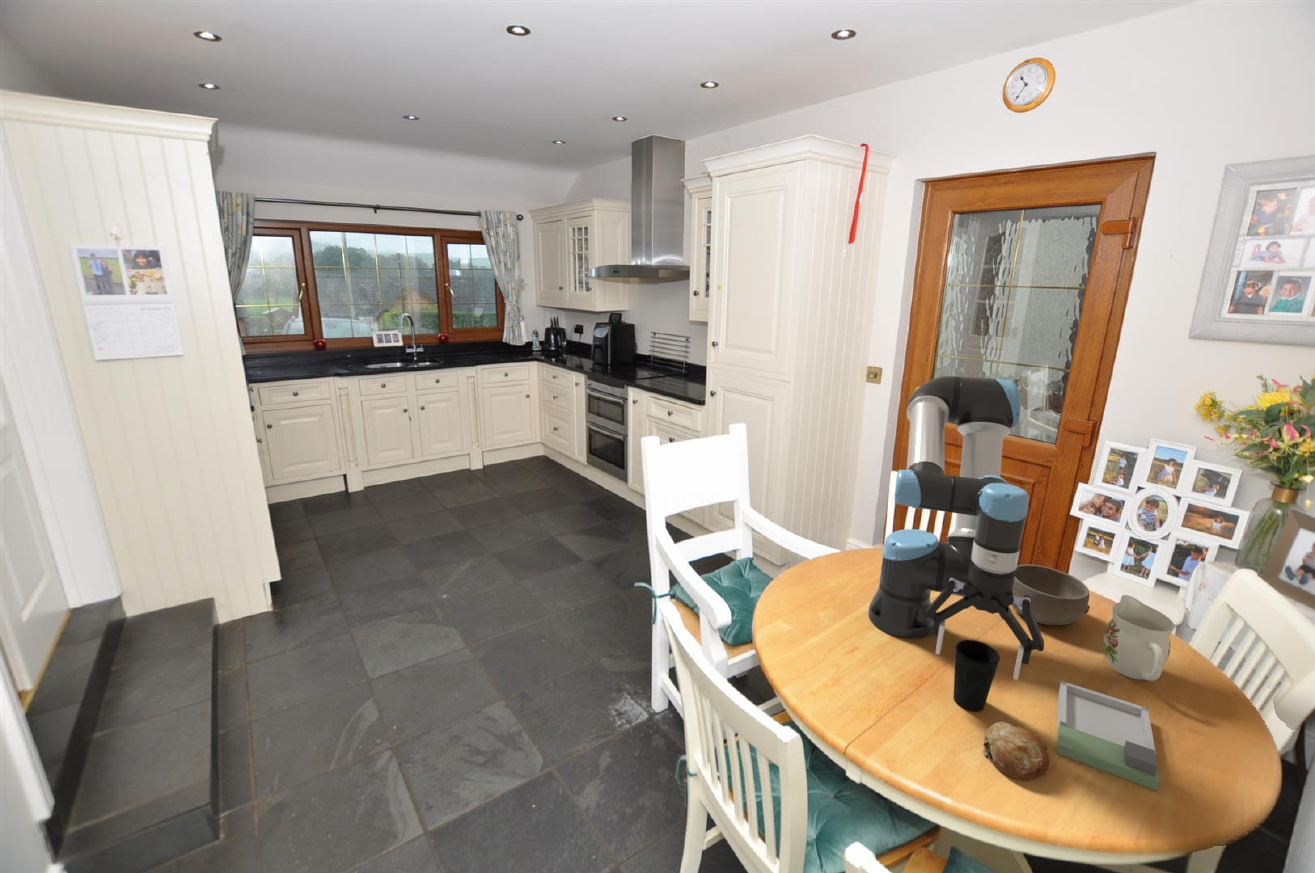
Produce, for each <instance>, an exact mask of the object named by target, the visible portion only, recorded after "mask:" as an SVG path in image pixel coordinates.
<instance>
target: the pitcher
mask: <svg viewBox="0 0 1315 873" xmlns="http://www.w3.org/2000/svg"><path fill="white" fill-rule="evenodd" d="M1175 628H1176V626H1175V623H1174V622H1173V620H1172V619H1171V618H1169V617H1168V616H1166V614H1164V613H1162V612H1160V611H1158V610H1157V609H1155V608H1153V607H1151V606H1150V605H1149V606H1148V605H1147V604H1144V602H1142V601H1140V600H1138V599H1137V598H1135V597H1134V596H1131V595H1128V594H1124V595H1122V596H1121V598H1120V601H1119V602H1117V603H1115V604H1114V605H1113V606H1112V617H1111V619H1110V620H1109V622H1108V623H1107V625H1106V627H1105V630H1104V633H1103V649H1104V654H1105V657H1106V659H1107V661H1108V663H1109V666H1110V667H1111V668H1112V669H1113V670H1114V671H1116V672H1117V673H1119V674H1121V675H1122V676H1125V677H1127V678H1130V679H1134V680H1142V681H1143V680H1146V681H1151V682H1153V681H1156V680H1158V679H1159V678H1160V677H1161V675H1162V672H1163V670H1164V669H1163V668H1164V665H1166V663H1167V661H1168V659H1169V656H1170V652H1171V639H1170V636H1171V634H1172V633H1173V631H1174V630H1175Z"/></svg>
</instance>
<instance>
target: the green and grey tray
mask: <svg viewBox="0 0 1315 873" xmlns="http://www.w3.org/2000/svg"><path fill="white" fill-rule="evenodd" d="M1057 693H1058V694H1057V731H1056V732H1057V734H1056V735H1057V736H1056V737H1057V738H1056V754H1058V755H1061V756H1064V757H1066V758H1069V759H1072V760H1073V761H1076V762H1080V763H1082V764H1084V765H1087V766H1090V767H1092V768H1095V769H1097V770H1101V771H1102V772H1106V773H1108V774H1110V775H1114V776H1117V777H1118V778H1122V779H1124V780H1127V781H1129V782H1133V783H1135V784H1137V785H1140V786H1142V787H1145V788H1148V789H1150V790H1154V791H1156V792H1157V791H1158V789H1159V785H1160V783H1161V782H1160V776H1159V771H1158V768H1159V765H1158V760H1157V759H1158V758H1157V752H1156V746H1155V740H1154V735H1153V730H1152V725H1151V718H1150V714H1149V708H1148V707H1145V706H1142V705H1139V704H1135V703H1132V702H1129V701H1127V700H1122V699H1120V698H1117V697H1114V696H1110V695H1108V694H1104V693H1102V692H1098V691H1095V690H1092V689H1089V688H1085V687H1083V686H1079V685H1076V684H1073V683H1070V682H1067V681H1063V680H1060V682H1059V687H1058V692H1057Z"/></svg>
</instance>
